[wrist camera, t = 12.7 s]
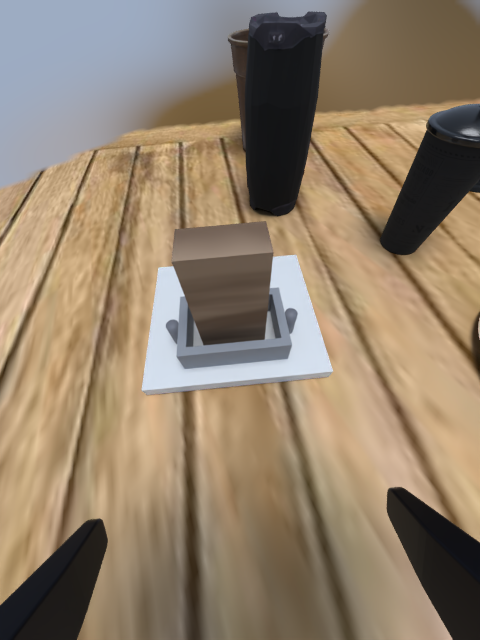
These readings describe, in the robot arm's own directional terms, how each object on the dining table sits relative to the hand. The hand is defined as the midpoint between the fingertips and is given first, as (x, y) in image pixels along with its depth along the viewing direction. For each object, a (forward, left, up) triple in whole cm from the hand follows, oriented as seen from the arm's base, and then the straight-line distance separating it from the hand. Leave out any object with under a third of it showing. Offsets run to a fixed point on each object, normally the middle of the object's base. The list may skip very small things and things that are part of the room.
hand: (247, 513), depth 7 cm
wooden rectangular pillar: (+11, +7, -12) cm, 18 cm away
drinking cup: (+35, -8, -14) cm, 38 cm away
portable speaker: (+38, +12, -14) cm, 42 cm away
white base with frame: (+14, +8, -14) cm, 21 cm away
